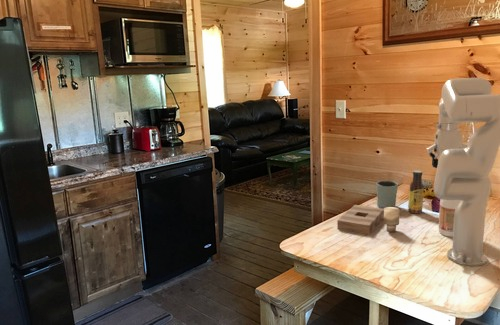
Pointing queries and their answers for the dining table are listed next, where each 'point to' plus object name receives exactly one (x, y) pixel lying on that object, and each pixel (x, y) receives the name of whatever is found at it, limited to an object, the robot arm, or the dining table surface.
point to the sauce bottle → (416, 193)
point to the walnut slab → (360, 219)
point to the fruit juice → (447, 216)
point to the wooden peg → (391, 218)
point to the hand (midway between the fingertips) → (446, 166)
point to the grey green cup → (386, 194)
